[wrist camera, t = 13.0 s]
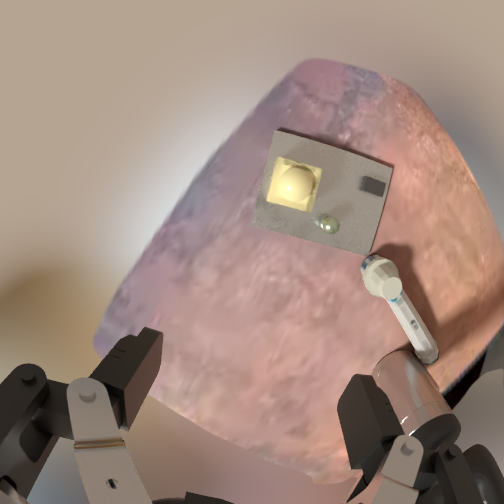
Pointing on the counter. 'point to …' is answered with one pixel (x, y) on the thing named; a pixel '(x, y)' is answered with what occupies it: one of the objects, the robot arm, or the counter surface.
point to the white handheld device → (399, 305)
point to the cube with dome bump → (294, 184)
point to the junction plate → (327, 195)
